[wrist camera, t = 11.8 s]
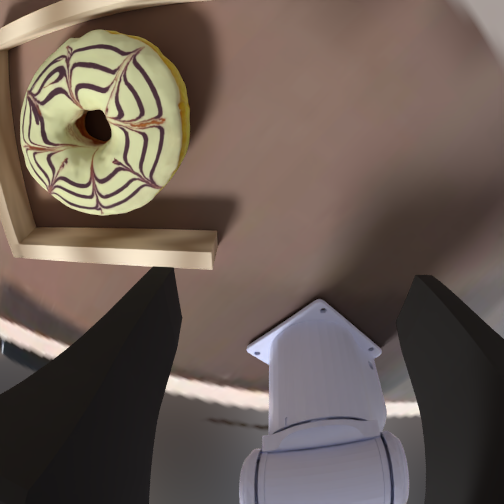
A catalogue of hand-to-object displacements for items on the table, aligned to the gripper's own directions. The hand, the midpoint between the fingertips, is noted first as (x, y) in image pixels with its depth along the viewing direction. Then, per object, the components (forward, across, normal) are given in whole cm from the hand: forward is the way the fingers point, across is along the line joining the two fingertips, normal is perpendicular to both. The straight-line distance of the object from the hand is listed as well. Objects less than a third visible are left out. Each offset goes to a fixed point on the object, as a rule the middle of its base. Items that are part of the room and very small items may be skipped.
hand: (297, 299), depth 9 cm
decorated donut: (+11, +10, -4) cm, 15 cm away
